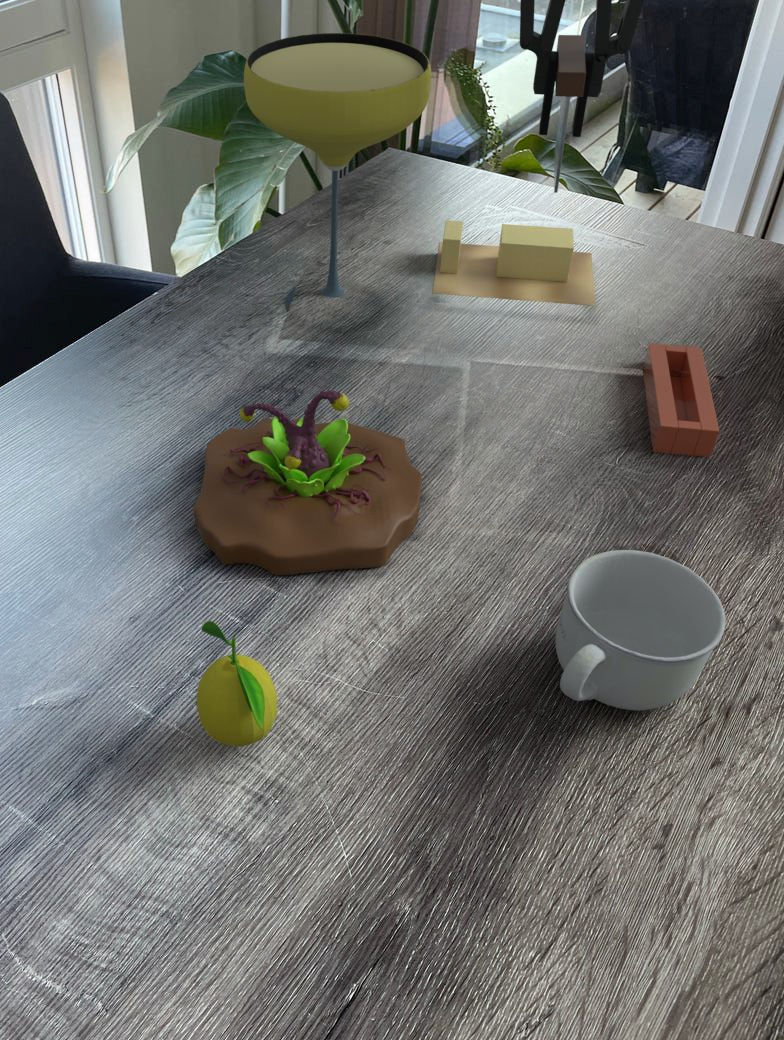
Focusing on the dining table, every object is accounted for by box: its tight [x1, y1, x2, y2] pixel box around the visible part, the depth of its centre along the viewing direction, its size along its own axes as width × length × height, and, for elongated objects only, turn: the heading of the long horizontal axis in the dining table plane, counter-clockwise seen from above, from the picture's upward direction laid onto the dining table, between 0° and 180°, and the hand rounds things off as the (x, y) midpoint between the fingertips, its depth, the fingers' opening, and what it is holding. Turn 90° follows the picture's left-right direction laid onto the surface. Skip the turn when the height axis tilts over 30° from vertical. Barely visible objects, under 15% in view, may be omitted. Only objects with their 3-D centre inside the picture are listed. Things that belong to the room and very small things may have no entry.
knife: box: [553, 34, 586, 194], centre depth 99 cm, size 2×11×10 cm, turn 170°
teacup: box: [555, 549, 727, 711], centre depth 74 cm, size 14×11×8 cm
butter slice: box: [440, 219, 464, 274], centre depth 119 cm, size 2×5×4 cm, turn 171°
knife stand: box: [641, 342, 720, 458], centre depth 100 cm, size 5×15×4 cm, turn 171°
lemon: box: [196, 620, 278, 747], centre depth 69 cm, size 7×6×10 cm
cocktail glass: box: [243, 32, 432, 312], centre depth 108 cm, size 18×18×25 cm
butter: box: [496, 223, 575, 282], centre depth 118 cm, size 8×5×4 cm, turn 81°
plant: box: [192, 389, 423, 576], centre depth 87 cm, size 20×20×11 cm
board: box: [431, 241, 597, 307], centre depth 120 cm, size 18×13×2 cm
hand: (559, 130), depth 100 cm, fingers closed on knife, 2 cm apart
